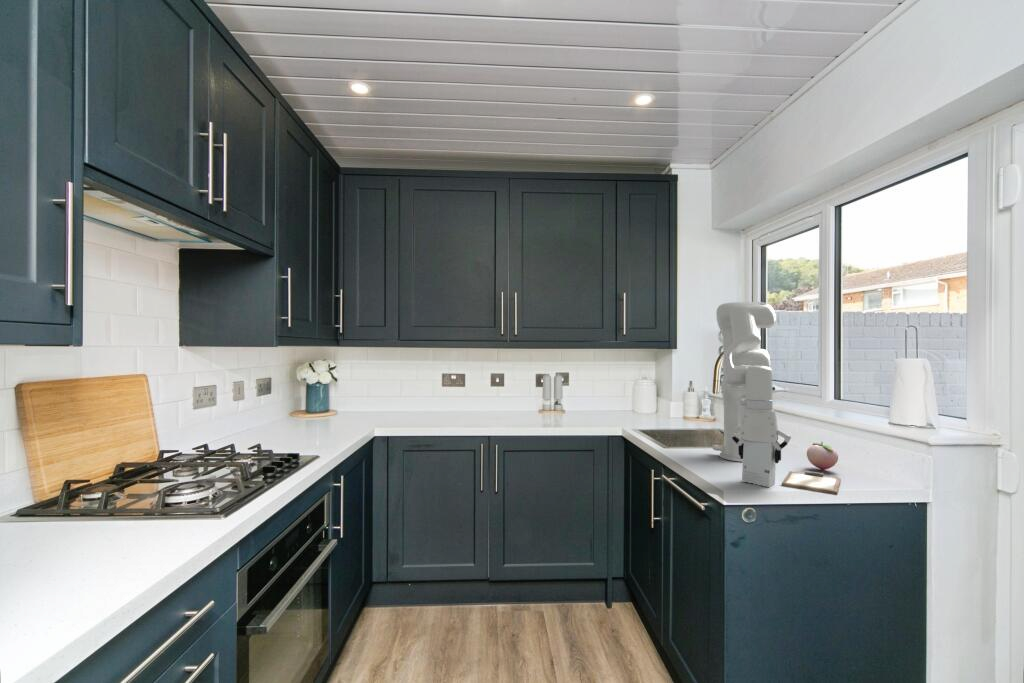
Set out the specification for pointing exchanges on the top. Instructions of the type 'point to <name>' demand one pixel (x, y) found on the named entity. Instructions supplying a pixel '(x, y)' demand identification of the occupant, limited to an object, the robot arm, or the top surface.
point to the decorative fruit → (822, 456)
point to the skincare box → (759, 463)
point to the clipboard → (812, 482)
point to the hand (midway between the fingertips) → (759, 460)
